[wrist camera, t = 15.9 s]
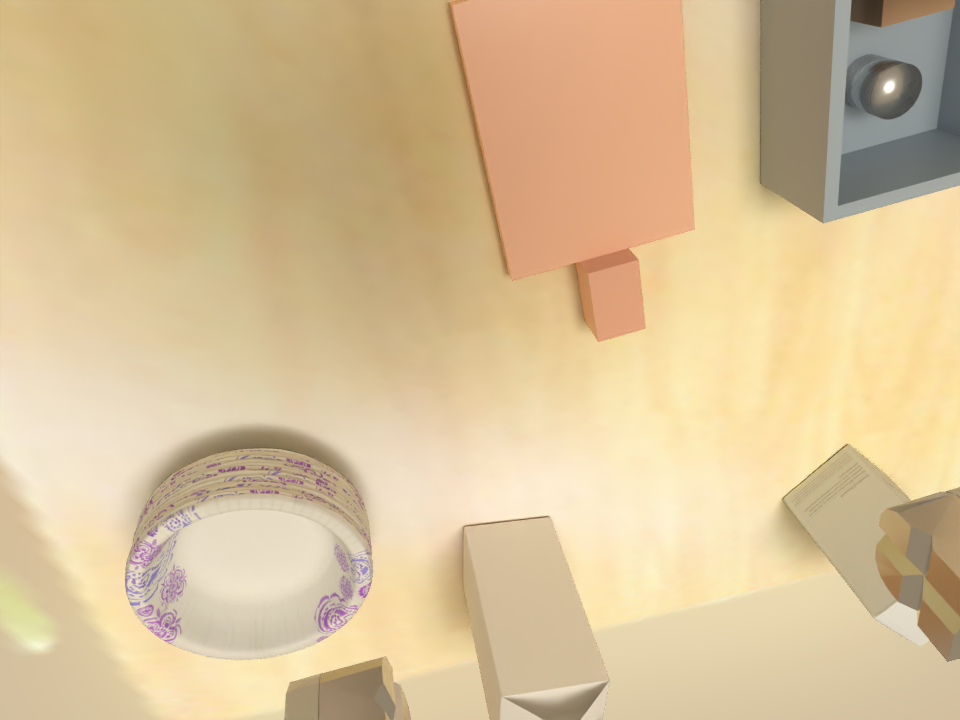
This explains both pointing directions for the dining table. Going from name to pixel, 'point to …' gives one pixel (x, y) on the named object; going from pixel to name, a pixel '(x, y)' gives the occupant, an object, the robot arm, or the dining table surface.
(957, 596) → the robot arm
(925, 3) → the walnut block
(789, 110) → the tub
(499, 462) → the dining table surface
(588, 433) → the dining table surface
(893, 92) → the metal knob
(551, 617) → the milk carton
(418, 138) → the dining table surface
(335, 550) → the paper bowls
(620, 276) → the lid
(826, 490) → the supplement box
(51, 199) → the dining table surface
